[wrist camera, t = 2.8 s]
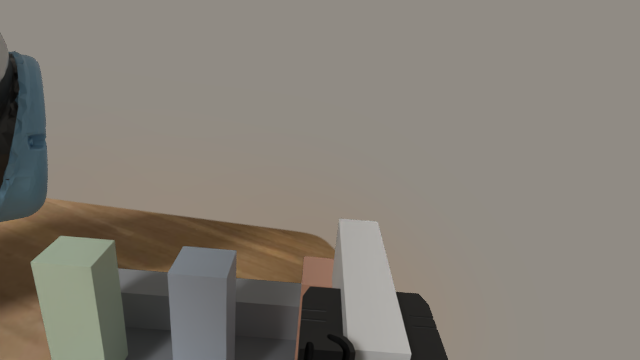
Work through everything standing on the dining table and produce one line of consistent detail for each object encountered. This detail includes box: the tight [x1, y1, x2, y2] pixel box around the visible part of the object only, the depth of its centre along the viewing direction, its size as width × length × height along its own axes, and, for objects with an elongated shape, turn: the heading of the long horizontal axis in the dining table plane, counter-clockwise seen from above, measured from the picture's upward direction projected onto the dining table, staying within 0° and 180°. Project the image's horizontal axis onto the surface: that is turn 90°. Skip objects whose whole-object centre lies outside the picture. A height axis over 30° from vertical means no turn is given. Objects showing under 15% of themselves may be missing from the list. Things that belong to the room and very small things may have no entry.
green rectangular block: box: [31, 236, 128, 360], centre depth 27 cm, size 4×3×10 cm
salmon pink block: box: [295, 256, 334, 360], centre depth 28 cm, size 4×3×10 cm
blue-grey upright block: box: [167, 246, 236, 360], centre depth 28 cm, size 4×3×10 cm
